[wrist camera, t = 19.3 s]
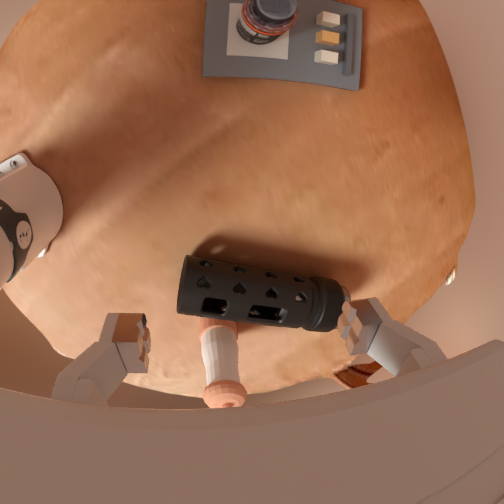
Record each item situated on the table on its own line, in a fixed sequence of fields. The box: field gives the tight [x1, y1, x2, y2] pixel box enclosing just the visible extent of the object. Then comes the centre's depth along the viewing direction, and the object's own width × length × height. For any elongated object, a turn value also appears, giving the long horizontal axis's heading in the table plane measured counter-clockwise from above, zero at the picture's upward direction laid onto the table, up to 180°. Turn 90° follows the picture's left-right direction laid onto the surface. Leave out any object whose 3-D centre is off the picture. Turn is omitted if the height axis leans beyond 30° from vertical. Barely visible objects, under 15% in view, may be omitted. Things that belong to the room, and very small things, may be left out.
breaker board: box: [202, 0, 363, 91], centre depth 30 cm, size 22×14×4 cm, turn 87°
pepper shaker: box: [199, 317, 247, 408], centre depth 48 cm, size 7×7×19 cm
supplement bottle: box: [236, 0, 299, 45], centre depth 24 cm, size 6×6×11 cm
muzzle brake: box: [177, 255, 351, 332], centre depth 48 cm, size 10×28×10 cm, turn 72°
